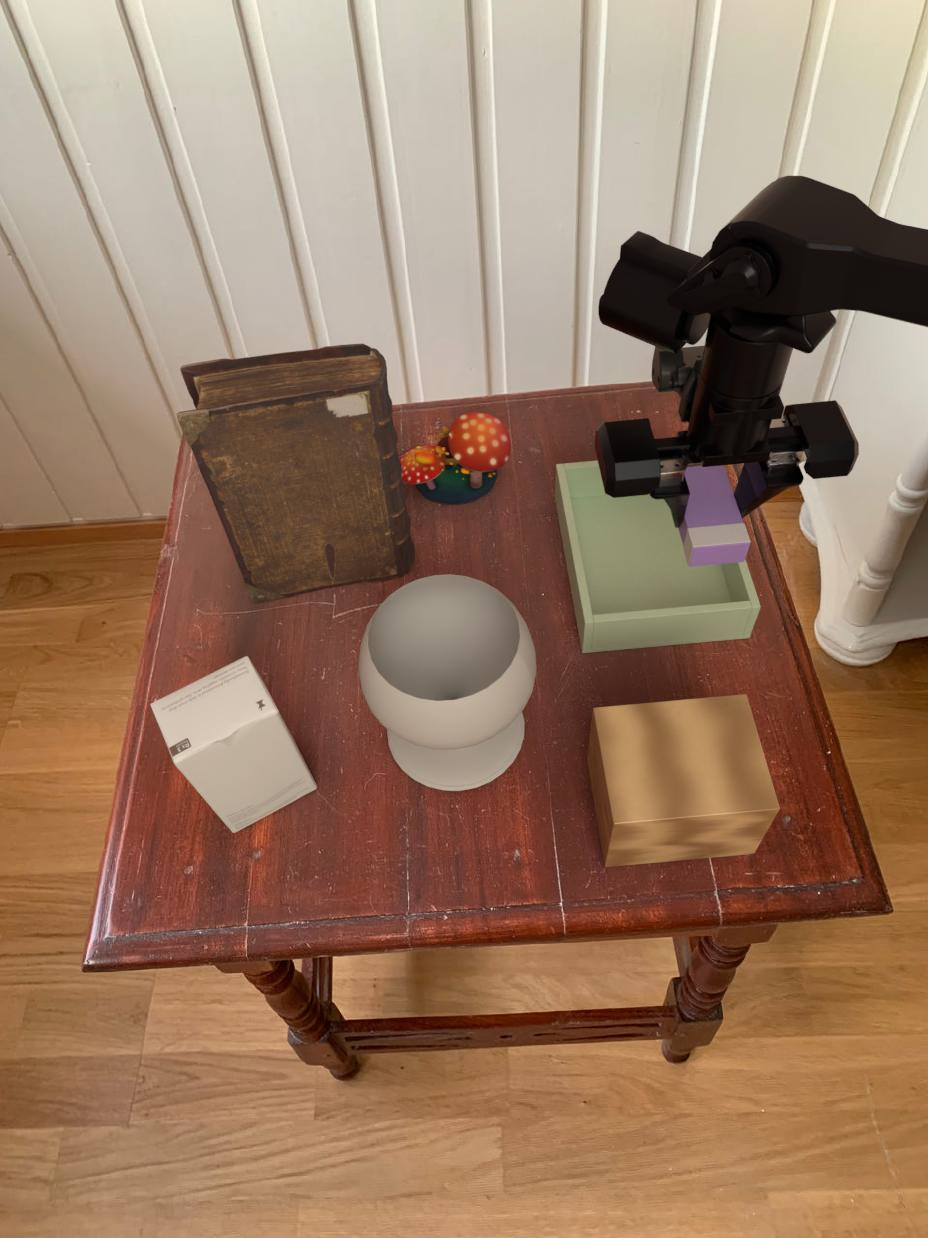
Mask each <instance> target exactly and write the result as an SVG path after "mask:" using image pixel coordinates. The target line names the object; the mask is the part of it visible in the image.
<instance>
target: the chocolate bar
mask: <svg viewBox="0 0 928 1238" xmlns="http://www.w3.org/2000/svg"><path fill="white" fill-rule="evenodd" d="M684 475H685V478H686V481H687V485H688V488H689V491H690V496H689V500H688V504H687V508H686V513H685V517H684V520H683V522H682V524H681V526H680V527H679V528H678V529H679V533H680V536H681V540H682V543H683V550H684V553H685V557H686V560H687V564H688V566H689V567H694V566H705V565H716V564H726V563H737V562H744V561H745V559H747V555H748V552H749V548H750V546H751V542H752V541H751V538H750V534H749V532H748V529H747V526H746V523H745V522H744V520H743V518H742V517H741V514H740V511H739V509H738V506H737V503H736V500H735V497H734V491H733V488H732V486H731V482H730V479H729V477H728V474H727V471H726V468H725V465H722V466H711V467H702V466H694V467H688V468H687V469H686V471H685V474H684Z"/></svg>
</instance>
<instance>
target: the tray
mask: <svg viewBox="0 0 928 1238" xmlns="http://www.w3.org/2000/svg"><path fill="white" fill-rule="evenodd" d="M554 483H555V485H554V502H555V507H556V514H557V519H558V524H559V530H560V536H561V542H562V547H563V553H564V558H565V564H566V569H567V575H568V582H569V587H570V592H571V598H572V604H573V610H574V614H575V622H576V628H577V633H578V638H579V643H580V650H581V653H582V654H590V653H601V652H611V651H613V652H614V651H622V650H624V651H625V650H635V649H644V648H645V649H647V648H655V647H657V648H658V647H667V646H677V645H688V644H701V643H710V642H722V641H732V640H733V641H734V640H742V639H743V640H744V639H745V640H746V639H750V638H751V636H752V632H753V629H754V627H755V624H756V622H757V619H758V616H759V613H760V610H761V607H762V606H761V603H760V599H759V597H758V594H757V590H756V587H755V584H754V581H753V577H752V575H751V571H750V569H749V565H748V563H747V558H745V561H744V562H737V563H726V564H716V565H705V566H694V567H689V566H688V564H687V560H686V557H685V553H684V550H683V543H682V540H681V536H680V533H679V529H678V528H675V526H674V522H673V518H672V514H671V511H670V508H669V506H668V505H667V503H666V502H665V500H664V499H653V498H652V497H651V496H650V494H648V495H639V496H629V497H618V498H613V497H611V496H609V495H608V494H606V493H605V490H604V486H603V482H602V477H601V473H600V468H599V464H598V460H597V459H596V460H588V461H576V462H565V463H556V464H555V480H554Z"/></svg>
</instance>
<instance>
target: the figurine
mask: <svg viewBox="0 0 928 1238" xmlns="http://www.w3.org/2000/svg"><path fill="white" fill-rule="evenodd" d="M437 435H438V436H439V437H441V438H440V439H439V440H438V442H437V444H436V445H420V446H419V445H416V447H414V448H412V449H409V450H407V451H406V452H405V453H404V454H403V455H402V456H401V457H400V458H399V459H400V462H401V464H402V483H405V484H407V485H408V484H409V485H415V487H416V489H417V490H418V492H419V493H420V494H421V495H422V497H424V498H425V499H427V500H429V501H431V502H433V503H437V504H442V505H462V504H469V503H473V502H475V501H477V500H479V499H482V498H484V497H485V496H487V495H489V493H490V492H491V491H492V489H493V488H494V486H495V485H496V482H497V478H498V469H500V468H501V467H503V466H505V464H506V463H507V462H508V460H509V458H510V454H511V452H512V451H511V450H512V441H511V440H512V439H511V435H510V433H509V431H508V429H507V426H506V425H505V424H504V423H503V422H502V420H500V419H499V418H497V417H496V416H493V415H492V414H490V413H486V412H480V411H477V412H476V411H475V412H473V411H471V412H467V413H464V414H461V415H460V416H458V417H457V418H455V420H454V421H453V422H452V423H451V425H450V427H449V428H447V427H446V426H442V432H441V433H439V434H437Z"/></svg>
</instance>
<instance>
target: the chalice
mask: <svg viewBox="0 0 928 1238" xmlns="http://www.w3.org/2000/svg"><path fill="white" fill-rule="evenodd" d="M374 611H375V612H374V613H373V614H372V616H371V618H370V619H369V621H368V622H367V625H366V626H365V627H366V628H365V631H364V634H363V637H362V639H361V643H360V646H359V658H358V679H359V683H360V688H361V693H362V695H363V698H364V699H365V701H366V704H367V705H368V708H369V710H370V712H371V714H372V715H373V716H374V717H375V718H376V719H377V720H378V721H379V723H380V724H381V725H382V727H384V728H385V729H386V735H387V742H388V748H389V750H390V752H391V755H392V757H393V760H394V761H395V762H396V763H397V765H398V766H399V768H400V769H401V770H402V771H403V772H404V773H405V774H407V776H409V777H410V778H411V779H412V780H414V781H416V782H417V783H420V784H422V785H424V786H426V787H428V788H432V789H436V790H439V791H449V792H452V791H453V792H461V791H467V790H473V789H477V788H479V787H481V786H484V785H486V784H489V783H491V782H492V781H494V780H496V779H497V778H498V777H499V776H501V775H503V774H504V773H505V772H506V771H507V770H508V769H509V767H510V766H511V765H512V764H513V763H514V761H515V760H516V759H517V756H518V755H519V753H520V751H521V750H522V746H523V743H524V738H525V724H526V723H525V717H524V714H523V711H524V710H525V708H526V706H527V704H528V702H529V700H530V699H531V696H532V694H533V690H534V686H535V683H536V677H537V670H538V669H537V654H536V653H537V652H536V647H535V644H534V641H533V639H532V638H533V637H532V635H531V633H530V629H529V627H528V625H527V622H526V621H525V619H524V617H523V616H522V615H521V613H520V612H519V610H518V609H517V607H516V605H515V604H514V603H513V602H512V601H511V600H510V599H509V598H508V597H506V596H505V595H504V593H502V592H501V591H500V590H498V588H496V587H494V586H492V585H490V584H488V583H487V582H484V580H483V581H482V580H480V579H477V578H473V577H471V576H467V575H460V574H451V573H450V574H448V573H446V574H433V575H429V576H426V577H421V578H418V579H415V580H413V581H411V582H408V583H406V584H403V585H402V586H401V587H399V588H398V589H396V590H395V591H393V592H392V593H390V594H389V595H388V596H387V597H386V598H385V599H384V600H383V601H382V602H381V603H380V604H379V605H378V607H376V610H374Z"/></svg>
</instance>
